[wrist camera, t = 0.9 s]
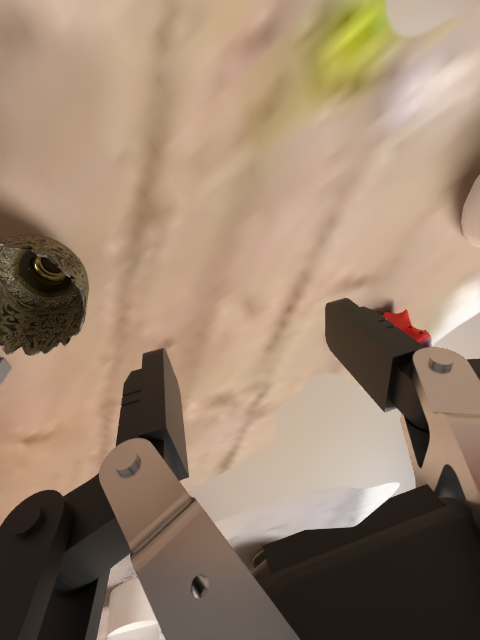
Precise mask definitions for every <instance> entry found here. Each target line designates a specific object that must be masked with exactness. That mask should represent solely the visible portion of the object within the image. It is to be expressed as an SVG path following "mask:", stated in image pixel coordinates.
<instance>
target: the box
mask: <svg viewBox="0 0 480 640" xmlns="http://www.w3.org/2000/svg"><path fill="white" fill-rule="evenodd" d="M11 368H12V367H11V366H10V365H9V364H8V362H7V361H6V360H5V358H2V359H0V385H1V383H2V382H3V380H4V379H5V377H6V376H7V374H8V372H9V371H10V369H11Z"/></svg>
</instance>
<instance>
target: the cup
mask: <svg viewBox="0 0 480 640" xmlns="http://www.w3.org/2000/svg"><path fill="white" fill-rule="evenodd" d="M43 257H46V258H48V259H49V260H50V261H51V262H52V263H53V264H54V265H55V266H57V267H58V268H59V269H61V270H62V271H61V272H59V273H53V272H50V271H48V270H47V269H45V267H44V266H43V264H42V259H43ZM88 292H89V283H88V277H87V273H86V270H85V268H84V266H83V264H82V262H81V261H80V259H79V258H78V257H77V256H76V255H75V254H74V253H73V252H72V251H71V250H70V249H69V248H67V247H66V246H64V245H63V244H61V243H59V242H57V241H55V240H52V239H49V238H46V237H42V236H34V235H21V236H14V237H9V238H5V239H1V240H0V346H2V345H4V349H3V348H2V350H3V351H4V352H5V353H6V354H12V353H13V352H14V351H16V350H17V349H18V348H20V347H22V348H23V350H24V352H25V354H27V355H29V356H31V355H35V354H38V353H39V352H40V351H42V352H43V353H44V354H46V353H48V352H49V351H50V350H52V349H53V348H54V347H56V346H57V345H58V344H59V342H61V343H62V344H63V345H64V346H66V345H67V344H68V342H69V341H70V339H71V337H72V336H73V335H77V334H78V333H79V332H80V331H81V329H82V326H83V323H84V320H85V316H86V307H87V300H88Z"/></svg>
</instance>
